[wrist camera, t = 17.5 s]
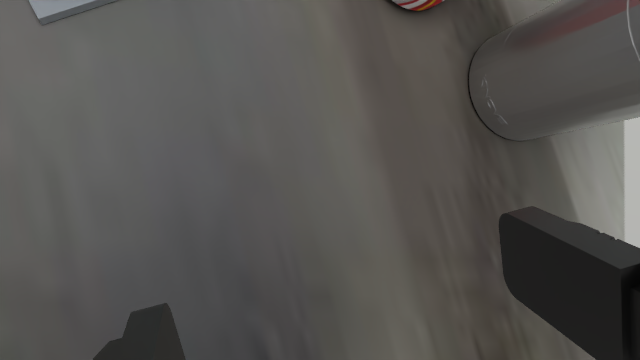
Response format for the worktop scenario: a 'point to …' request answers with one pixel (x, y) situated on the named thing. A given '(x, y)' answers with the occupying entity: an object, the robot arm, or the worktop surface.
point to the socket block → (63, 8)
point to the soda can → (417, 4)
